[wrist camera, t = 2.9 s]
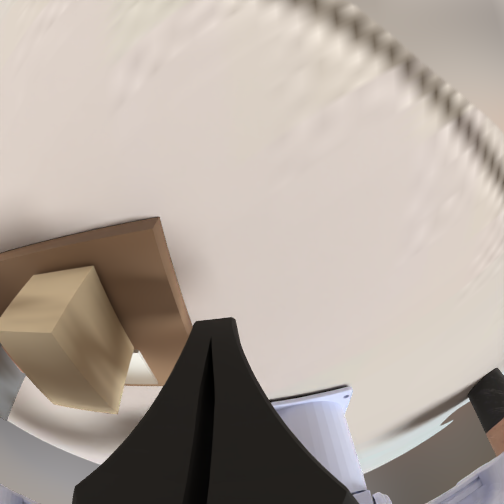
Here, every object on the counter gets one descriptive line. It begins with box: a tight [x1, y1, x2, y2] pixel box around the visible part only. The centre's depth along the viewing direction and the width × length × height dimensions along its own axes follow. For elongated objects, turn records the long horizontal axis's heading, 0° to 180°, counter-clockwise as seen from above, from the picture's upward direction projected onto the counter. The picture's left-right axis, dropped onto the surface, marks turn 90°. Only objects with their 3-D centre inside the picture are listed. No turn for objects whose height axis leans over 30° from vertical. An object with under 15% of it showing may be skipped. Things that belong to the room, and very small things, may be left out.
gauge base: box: [0, 217, 193, 421], centre depth 10 cm, size 10×18×6 cm, turn 96°
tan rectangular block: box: [0, 266, 134, 414], centre depth 10 cm, size 8×4×4 cm, turn 6°
